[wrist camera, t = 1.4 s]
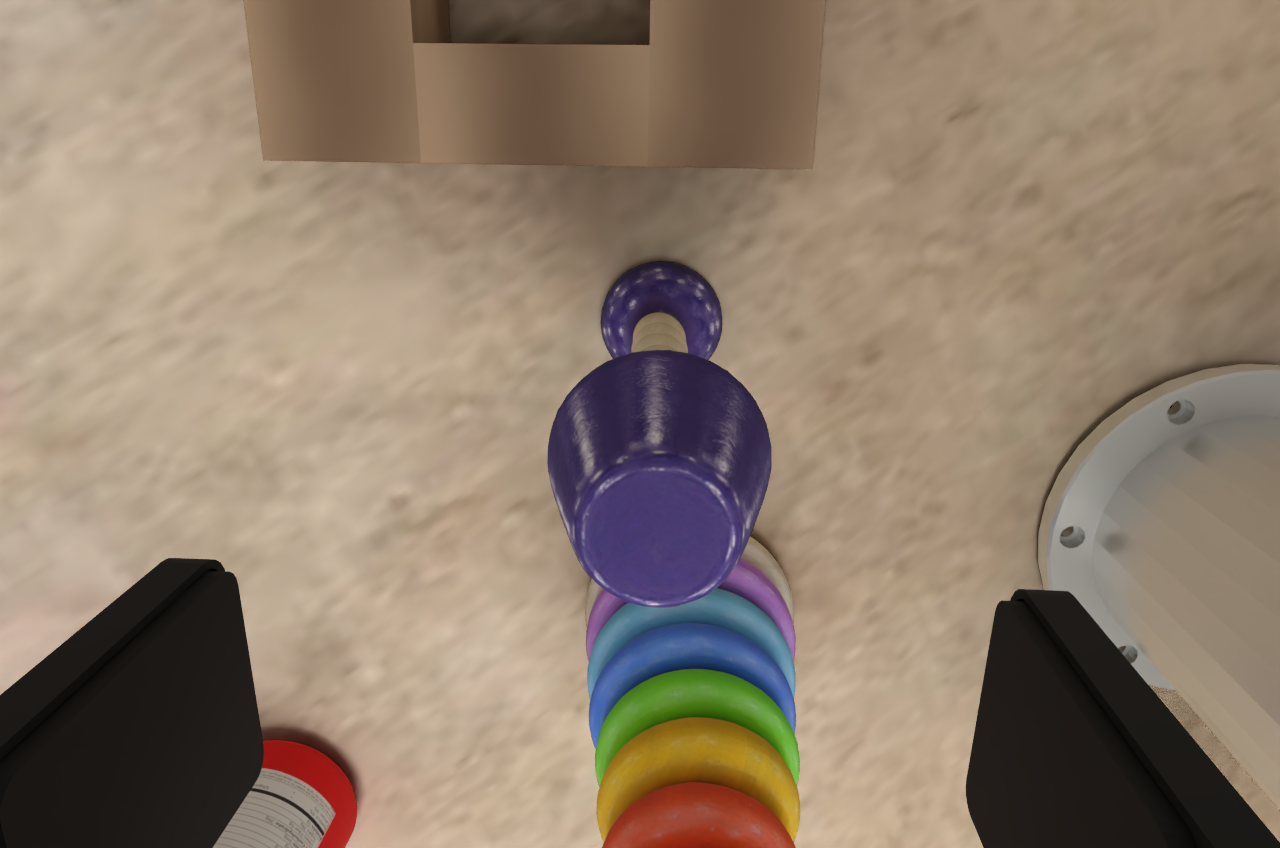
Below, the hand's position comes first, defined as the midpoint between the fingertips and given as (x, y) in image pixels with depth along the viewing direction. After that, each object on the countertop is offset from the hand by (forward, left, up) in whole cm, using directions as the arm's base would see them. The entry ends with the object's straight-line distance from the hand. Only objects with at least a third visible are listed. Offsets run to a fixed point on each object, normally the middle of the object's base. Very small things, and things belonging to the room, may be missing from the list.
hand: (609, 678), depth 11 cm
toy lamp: (0, 0, -21) cm, 21 cm away
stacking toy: (-1, +11, -21) cm, 24 cm away
